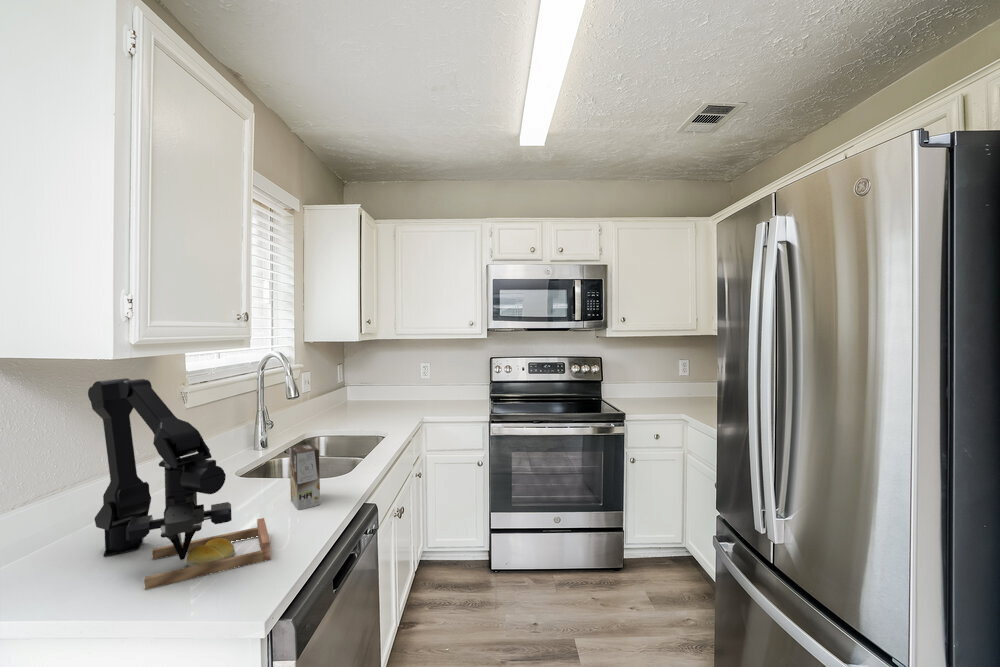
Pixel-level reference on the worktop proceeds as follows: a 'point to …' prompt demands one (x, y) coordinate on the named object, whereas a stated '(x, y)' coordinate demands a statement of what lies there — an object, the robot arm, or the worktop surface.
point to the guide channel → (215, 565)
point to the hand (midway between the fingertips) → (182, 559)
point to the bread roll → (210, 552)
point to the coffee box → (304, 476)
